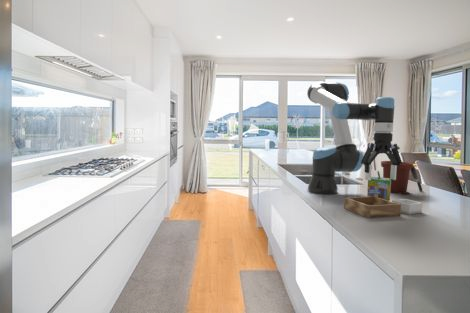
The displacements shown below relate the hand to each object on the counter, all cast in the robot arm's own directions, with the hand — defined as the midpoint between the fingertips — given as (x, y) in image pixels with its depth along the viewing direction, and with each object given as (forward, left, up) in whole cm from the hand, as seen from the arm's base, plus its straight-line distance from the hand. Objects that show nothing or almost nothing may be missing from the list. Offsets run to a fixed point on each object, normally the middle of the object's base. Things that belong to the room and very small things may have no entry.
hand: (380, 179), depth 144 cm
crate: (+12, -14, -11) cm, 21 cm away
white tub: (+14, +2, -11) cm, 18 cm away
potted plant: (-22, +33, -11) cm, 42 cm away
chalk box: (0, 0, -11) cm, 11 cm away
